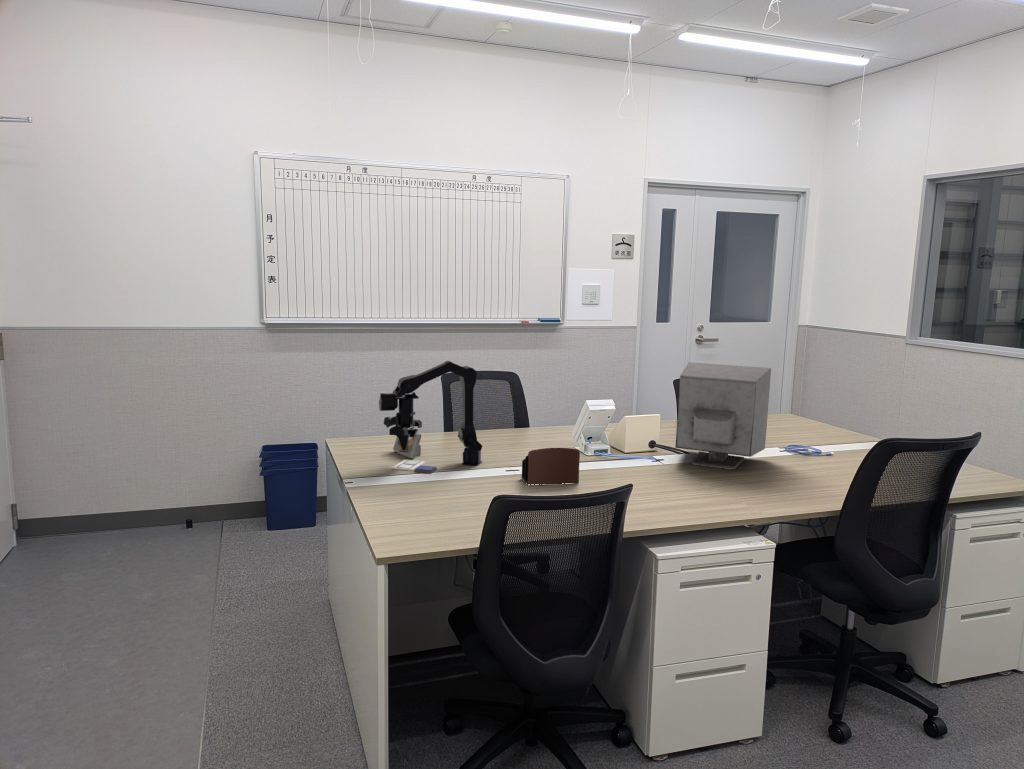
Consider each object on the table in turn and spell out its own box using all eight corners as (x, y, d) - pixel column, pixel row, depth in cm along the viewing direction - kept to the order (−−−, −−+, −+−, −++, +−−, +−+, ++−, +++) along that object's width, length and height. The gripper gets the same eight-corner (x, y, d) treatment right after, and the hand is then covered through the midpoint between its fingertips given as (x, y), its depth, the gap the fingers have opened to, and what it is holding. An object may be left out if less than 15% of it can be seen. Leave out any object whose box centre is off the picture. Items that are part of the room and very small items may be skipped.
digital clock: (391, 451, 318) (391, 427, 316) (411, 449, 322) (412, 425, 320) (403, 460, 304) (403, 435, 302) (424, 458, 308) (424, 433, 306)
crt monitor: (764, 458, 321) (771, 367, 315) (753, 479, 287) (761, 378, 281) (683, 449, 335) (689, 361, 329) (664, 467, 302) (670, 370, 296)
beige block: (412, 450, 292) (412, 436, 292) (408, 452, 289) (408, 438, 288) (403, 449, 293) (403, 436, 293) (399, 451, 290) (399, 438, 289)
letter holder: (579, 484, 276) (580, 447, 274) (527, 486, 271) (528, 449, 269) (571, 477, 285) (572, 441, 283) (521, 479, 281) (522, 442, 279)
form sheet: (425, 462, 300) (425, 461, 300) (412, 470, 288) (412, 469, 287) (405, 460, 302) (405, 459, 302) (391, 468, 290) (391, 467, 290)
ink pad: (436, 469, 290) (436, 466, 290) (431, 473, 284) (431, 470, 284) (420, 468, 292) (420, 464, 292) (414, 471, 286) (414, 468, 286)
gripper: (396, 404, 299) (397, 442, 302) (376, 412, 282) (376, 452, 284) (422, 406, 297) (422, 444, 299) (403, 414, 279) (403, 454, 281)
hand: (406, 448), depth 291 cm, fingers closed on beige block, 4 cm apart
